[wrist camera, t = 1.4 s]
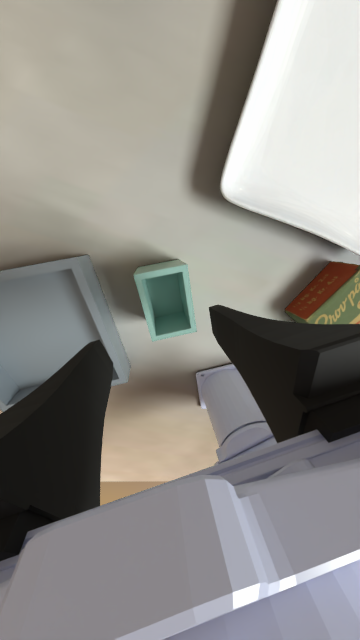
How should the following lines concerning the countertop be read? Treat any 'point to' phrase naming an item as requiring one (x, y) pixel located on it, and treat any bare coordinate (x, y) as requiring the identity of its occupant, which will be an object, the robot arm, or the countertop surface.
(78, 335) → the grey tray
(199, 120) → the countertop surface
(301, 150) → the salad plate
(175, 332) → the small crate
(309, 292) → the carton
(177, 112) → the countertop surface
